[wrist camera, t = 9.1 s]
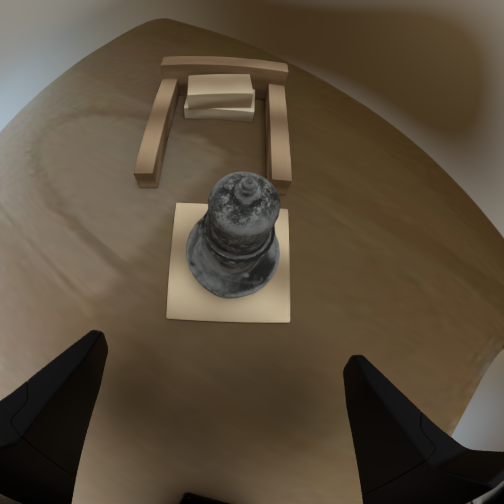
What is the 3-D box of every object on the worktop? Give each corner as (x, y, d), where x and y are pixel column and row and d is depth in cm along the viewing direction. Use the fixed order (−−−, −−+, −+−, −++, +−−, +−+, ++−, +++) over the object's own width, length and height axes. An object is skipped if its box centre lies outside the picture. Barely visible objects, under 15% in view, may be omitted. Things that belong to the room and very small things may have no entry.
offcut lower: (251, 125, 26) (254, 112, 24) (185, 121, 25) (183, 107, 23) (252, 102, 27) (254, 89, 25) (190, 98, 26) (190, 85, 24)
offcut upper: (250, 108, 24) (253, 93, 22) (188, 109, 23) (187, 95, 21) (247, 88, 25) (249, 74, 23) (189, 89, 24) (188, 75, 22)
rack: (284, 194, 24) (298, 167, 19) (140, 187, 22) (127, 159, 18) (278, 92, 27) (287, 63, 23) (167, 86, 26) (164, 56, 22)
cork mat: (287, 322, 21) (290, 322, 20) (168, 318, 19) (166, 318, 19) (285, 213, 23) (287, 209, 22) (177, 207, 22) (176, 202, 21)
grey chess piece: (196, 222, 21) (181, 110, 9) (271, 230, 22) (327, 131, 10) (186, 298, 19) (145, 256, 8) (266, 306, 20) (335, 275, 8)
